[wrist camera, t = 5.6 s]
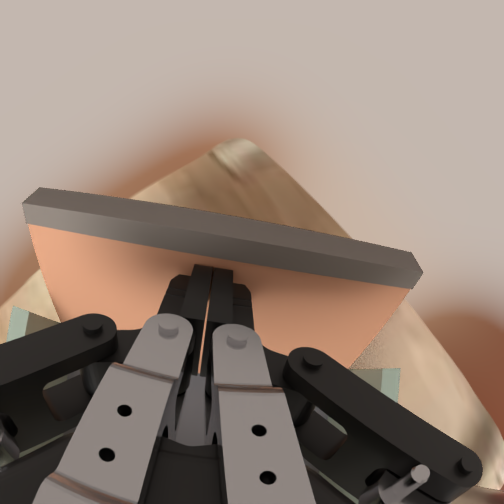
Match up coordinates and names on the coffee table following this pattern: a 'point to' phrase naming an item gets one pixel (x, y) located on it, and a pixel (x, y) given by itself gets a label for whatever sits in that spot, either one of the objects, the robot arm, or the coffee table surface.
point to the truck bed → (199, 390)
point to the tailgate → (220, 256)
